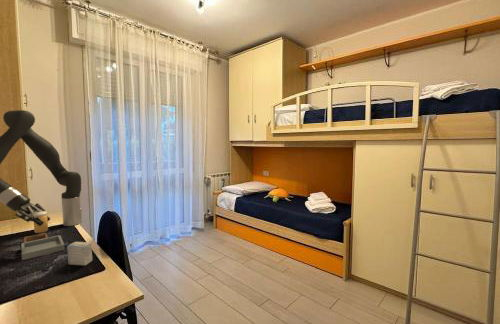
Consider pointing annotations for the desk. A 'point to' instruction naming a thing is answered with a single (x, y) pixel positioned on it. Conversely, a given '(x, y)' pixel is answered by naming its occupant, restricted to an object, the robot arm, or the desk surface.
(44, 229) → the pill bottle
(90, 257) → the medicine box
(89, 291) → the desk surface
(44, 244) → the tray
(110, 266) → the desk surface
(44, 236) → the holder
